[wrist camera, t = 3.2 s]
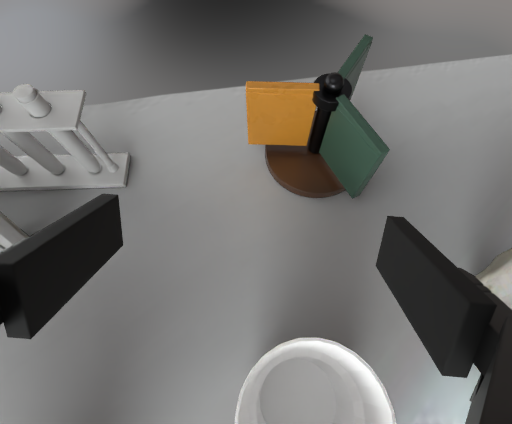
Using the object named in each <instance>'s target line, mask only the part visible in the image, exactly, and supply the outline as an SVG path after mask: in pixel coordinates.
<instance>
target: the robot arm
mask: <svg viewBox="0 0 512 424" xmlns="http://www.w3.org/2000/svg"><path fill="white" fill-rule="evenodd" d="M122 246H123V239H122V228H121V218H120V208H119V198H118V195H113V194H101V195H100V196H98V197H96V198H95V199H93V200H91V201H90V202H88V203H86V204H84V205H83V206H81V207H79V208H78V209H76V210H74V211H73V212H71V213H69V214H68V215H66V216H64V217H63V218H61V219H59V220H57V221H56V222H54V223H52V224H51V225H49V226H47V227H46V228H44V229H42V230H41V231H39V232H37V233H36V234H34V235H32V236H30V237H28V238H25V239H22V240H20V241H18V242H16V243H15V244H13V245H11V246H10V248H6V249H4V250H3V251H1V253H0V324H2V323H3V322H4V326H5V330H6V333H7V337H13V338H24V339H32V337H33V336H34V335H35V334H36V333H37V332H38V331H39V330H40V329H41V328H42V327H43V326H44V325H45V324H46V323H47V322H48V321H49V320H50V319H51V318H52V317H53V316H54V315H55V314H56V313H57V312H58V311H59V310H60V309H61V308H62V307H63V306H64V305H65V304H66V303H67V302H68V301H69V300H70V299H71V298H72V297H73V296H74V295H75V294H76V293H77V292H78V291H79V290H80V289H81V288H82V287H83V286H84V284H85V283H86V282H87V281H88V280H89V279H90V278H91V277H92V276H93V275H94V274H95V273H96V272H97V271H98V270H99V269H100V268H101V267H102V266H103V265H104V264H105V263H106V262H107V261H108V260H109V259H110V258H111V257H112V256H113V255H114V254H115V253H116V252H117V251H118V250H119V249H120V248H121V247H122ZM376 267H377V269H378V270H379V272H380V274H381V275H382V277H383V278H384V280H385V282H386V283H387V285H388V287H389V288H390V290H391V292H392V293H393V295H394V297H395V298H396V300H397V302H398V303H399V305H400V307H401V308H402V310H403V312H404V313H405V315H406V317H407V318H408V320H409V322H410V323H411V325H412V326H413V328H414V330H415V331H416V333H417V335H418V336H419V338H420V340H421V341H422V343H423V345H424V346H425V348H426V350H427V351H428V353H429V355H430V356H431V358H432V360H433V361H434V363H435V365H436V366H437V368H438V370H439V371H440V373H441V375H442V376H453V377H464V378H467V376H468V374H469V371H470V369H471V367H472V364H473V363H474V364H475V365H476V367H477V368H478V369H479V371H480V372H481V376H480V378H479V380H478V383H477V385H476V387H475V389H474V392H473V394H472V396H471V398H470V401H471V402H472V403H471V406H470V409H469V413H468V416H467V419H466V423H465V424H512V309H511V308H509V307H508V306H507V305H506V304H505V303H504V302H503V301H502V300H501V299H499V298H498V297H497V296H496V295H495V294H494V293H491V292H492V291H491V290H489V289H488V288H487V287H486V286H484V284H483V283H482V282H481V281H479V280H478V279H477V278H476V277H475V276H474V275H472V274H470V273H468V272H467V271H465V270H463V269H461V268H457V267H456V266H455V265H454V264H453V263H452V262H451V261H450V260H449V259H448V258H446V257H445V256H444V255H443V254H442V253H441V252H440V251H439V250H438V249H437V248H436V247H435V246H434V245H433V244H432V243H430V242H429V241H428V240H427V239H426V238H425V237H424V236H423V235H422V234H421V233H420V232H419V231H418V230H417V229H416V228H414V227H413V226H412V225H411V224H410V223H409V222H408V221H407V220H406V219H405V218H404V217H394V216H387V220H386V225H385V229H384V233H383V237H382V242H381V246H380V250H379V254H378V259H377V263H376Z"/></svg>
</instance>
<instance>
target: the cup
mask: <svg viewBox="0 0 512 424" xmlns="http://www.w3.org/2000/svg"><path fill="white" fill-rule="evenodd" d="M235 424H396V419H395V413H394V409H393V406H392V404H391V401H390V399H389V396H388V394H387V391H386V389H385V387H384V385H383V384H382V382H381V381H380V379H379V378H378V376H377V375H376V373H375V372H374V370H373V369H372V368H371V367H370V366H369V365H368V364H367V363H366V362H365V361H364V360H363V359H362V358H361V357H360V356H359V355H357V354H356V353H355V352H354V351H352V350H350V349H348V348H346V347H345V346H343V345H341V344H339V343H337V342H334V341H330V340H326V339H322V338H318V337H314V338H297V339H294V340H291V341H287V342H284V343H281V344H279V345H278V346H276V347H275V348H273V349H272V350H270V351H269V352H267V353H266V354H264V355H263V356H262V358H261V359H260V360H259V361H258V362H257V364H256V365H255V366H254V367H253V368H252V369H251V371H250V372H249V374H248V376H247V378H246V380H245V382H244V384H243V386H242V389H241V391H240V394H239V399H238V403H237V408H236V412H235Z"/></svg>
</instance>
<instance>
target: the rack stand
mask: <svg viewBox="0 0 512 424" xmlns="http://www.w3.org/2000/svg"><path fill="white" fill-rule="evenodd" d="M316 112H317V111H315V113H314V117H313V121H312V125H311V130H310V134H309V138H308V142H307V146H295V145H266V148H265V158H266V163H267V166H268V169H269V171H270V173H271V174H272V176H273V177H274V179H275V180H276V181H277V182H278V183H279V184H280V185H282V186H283V187H284V188H286V189H287V190H289V191H291V192H293V193H295V194H298V195H301V196H305V197H311V198H323V197H329V196H333V195H336V194H338V193H340V192H342V191H344V190H346V189H345V188H344V186H343V185H342V184H341V182H340V181H339V179H338V178H337V177H336V175H335V174H334V172H333V171H332V170H331V168H330V167H329V165H328V164H327V163H326V161H325V160H324V158H323V157H322V156H321V154H320V153H318V154H314V153H311V152H310V151H309V149H308V144H309V140H310V136H311V132H312V128H313V124H314V120H315V116H316Z"/></svg>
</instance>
